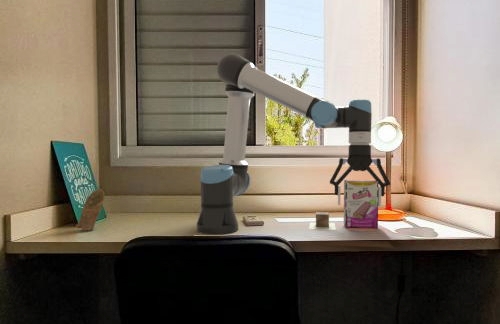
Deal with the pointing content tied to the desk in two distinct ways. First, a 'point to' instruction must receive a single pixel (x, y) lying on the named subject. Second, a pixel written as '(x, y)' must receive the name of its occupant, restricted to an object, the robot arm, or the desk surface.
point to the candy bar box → (361, 204)
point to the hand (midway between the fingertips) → (358, 205)
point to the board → (332, 227)
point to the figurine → (91, 210)
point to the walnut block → (322, 219)
